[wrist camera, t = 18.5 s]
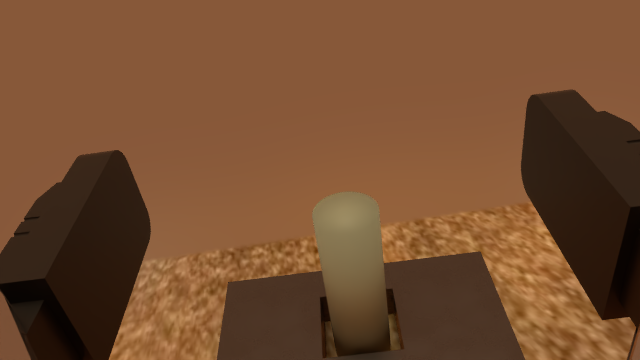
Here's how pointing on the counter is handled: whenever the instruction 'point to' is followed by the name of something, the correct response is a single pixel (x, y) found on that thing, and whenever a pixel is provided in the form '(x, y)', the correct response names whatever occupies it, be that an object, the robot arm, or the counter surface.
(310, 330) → the brown block with hole
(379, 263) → the peg
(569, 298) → the counter surface
